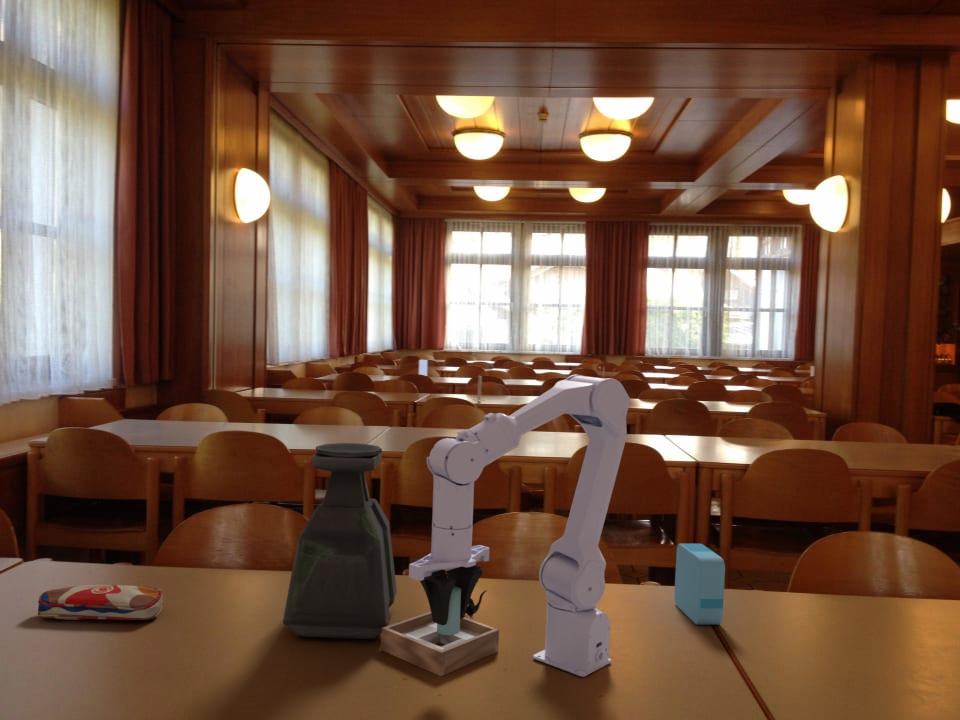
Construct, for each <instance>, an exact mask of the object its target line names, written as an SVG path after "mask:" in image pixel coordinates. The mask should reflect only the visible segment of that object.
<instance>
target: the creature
mask: <svg viewBox="0 0 960 720" xmlns="http://www.w3.org/2000/svg"><path fill="white" fill-rule="evenodd" d="M486 592H487V590H483V592H481V593H480V595H479V598H478V602H477V603H476V604H475V602H474V599H472V597H470V600H469V604H468V607H467V611H466V614H467V615H468V616H469V617H470V618H471V617H473V616H474V615H475V614H476V613H477V612H478V610H479V608H480V605H481V603H482V600H483V596H484V594H485V593H486Z"/></svg>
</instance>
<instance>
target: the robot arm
mask: <svg viewBox="0 0 960 720" xmlns="http://www.w3.org/2000/svg"><path fill="white" fill-rule="evenodd" d="M630 403H631V397H630V396H629V395H628V393H627V391H626V389H625V387H624V386H623V384H622V383H621V382H620V381H619V380H617V379H616V378H610V377H609V378H604V377H603V378H602V377H594V376H585V375H582V374H571V375H569V376H567V377H566V378H565V379H562V380H558V381H557V382H556V383H555V384H554V386H553V387H551V388H550V389H548V390H546V391H545V392H543V393H542V394H541V395H539V396H537V397H536V398H534V399H533V400H531V401H530V402H528V403H526V404H525V405H524V406H522V407H520V408H519V409H518V410H516V411H514V412H513V413H512V414H510V415H507V414H505V413H502V412H498V413H493V412H489V413H487V414H485V415H484V416H483V419H484V420H482V421H480V422H479V423H478V424H475V425H474V426H472V427H469V429H467V430H465V429H461V430H459V431H457V436H456V437H455V438H452V437H451V438H449V437H446V438H442V439H440V440H438V441H437V442H436V443H435V444H434V445H433V448H431V451H430V452H429V456H427V457H426V465H427V468H428V471H430V472H431V474H432V476H433V490H432V517H431V518H432V519H431V547H430V549H431V550H430V553H429V554H427V555H425V556H424V557H422V558H420V559H418V560H416V561H414V562H412V563H409V564H408V578H409V579H411V580H414V581H417V582H420V584H421V586H422V589H423V590H424V592H425V595H426V598H427V601H428V605H429V610H430V611H431V614H432V619H433V622H435V623H437V624H440V625H446V623H447V620H448V613H449V602H450V597H451V593H452V590H453V587H454V586H458V587H460V588H461V605H460V618H461V619H462V618H464V617H466V614H467V613H466V611H467V607H468V605H469V600H470V598H472V597H471V596H472V594H473V591H474V590H475V588H476V585H477V583H478V582H479V580H480V578H481V577H482V576H483V568H482V567H481V566H478V565H476V564H477V563H478V562H481V561H482V562H488V561H490V549H491V548H490V547H488V546H485V545H481V544H478V545H472V543H473V521H474V518H473V517H474V500H475V499H474V495H475V494H474V493H475V492H474V491H475V482H476V481H477V480H478V479H479V478H480V476H481V474H482V472H483V471H484V468H485V467H486V466H488V465H490V464H491V463H493V462H495V461H496V460H498V459H499V458H501V457H504V456H505V455H506V454H508V453H510V452H511V451H513V450H515V449H517V448H518V447H519V445H520V442H521V437H522V436H523V435H525V434H526V433H528V432H530V431H531V432H532V431H533V430H535V429H537V428H539V427H540V426H543V425H545V424H547V423H549V422H550V421H552V420H555V419H557V418H558V417H561V416H562V415H570V416H571V417H572V418H573V419H574V420H575V421H576V422H577V423H578V424H580V426H581V427H582V429H583V430H584V432H585V434H586V435H587V438H588V443H587V447H586V451H585V454H584V458H583V462H582V464H581V465H582V466H581V470H580V473H579V476H578V477H579V478H578V481H577V484H576V488H575V492H574V496H573V500H572V503H571V505H570V506H571V507H570V510H569V514H568V515H569V516H568V519H567V521H566V525H565V529H564V533H563V535H562V536H561V537H560V538H558V539H557V540H555V541H553V542H552V543H551V545H550V548H549V551H548V554H547V556H546V557H545V559H544V560H543V561H542V563H541V565H540V567H539V571H538V578H539V579H538V580H539V582H540V585H541V586H542V588H543V589H544V590H545V598H546V599H547V600H546V618H545V619H546V623H545V642H544V649H543V650H540V651H539V652H537V653H534V654H533V655H532V658H533V659H534V660H537V661H539V662H542V663H545V664H547V665H550V666H552V667H555V668H558V669H560V670H563V671H566V672H568V673H571V674H573V675H576V676H578V677H583V678H585V677H587V676H588V675H590V674H591V673H593V672H596V671H598V670H599V669H601V668H603V667H605V666H607V665H609V664H610V663H612V659H611V658H610V639H611V638H610V635H611V623H610V622H611V621H610V618H609V616H608V614H607V613H605V612H603V611H601V610H600V609H598V607H597V605H598V604H599V602H600V601H601V600H602V599H603V596H604V594H605V590H606V581H605V571H606V567H607V562H606V559H605V558H604V555H603V554H602V552H601V549H600V547H599V543H600V540H601V537H602V531H603V528H604V524H605V520H606V517H607V513H608V510H609V505H610V501H611V498H612V494H613V491H614V486H615V483H616V480H617V475H618V473H619V472H618V471H619V468H620V463H621V459H622V456H623V452H624V448H625V444H626V441H627V435H628V434H627V433H628V432H627V430H628V429H627V414H628V412H629V411H628V410H629V406H630Z"/></svg>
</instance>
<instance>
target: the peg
mask: <svg viewBox="0 0 960 720" xmlns="http://www.w3.org/2000/svg"><path fill="white" fill-rule="evenodd" d="M460 605H461V588H460V587H458V586H454V587H453V590H452V593H451V597H450V602H449V613H448V620H447V623H446V625H440V624H437V632H438V633H440V634H443V635H455V634H458V633H459V631H460Z"/></svg>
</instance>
